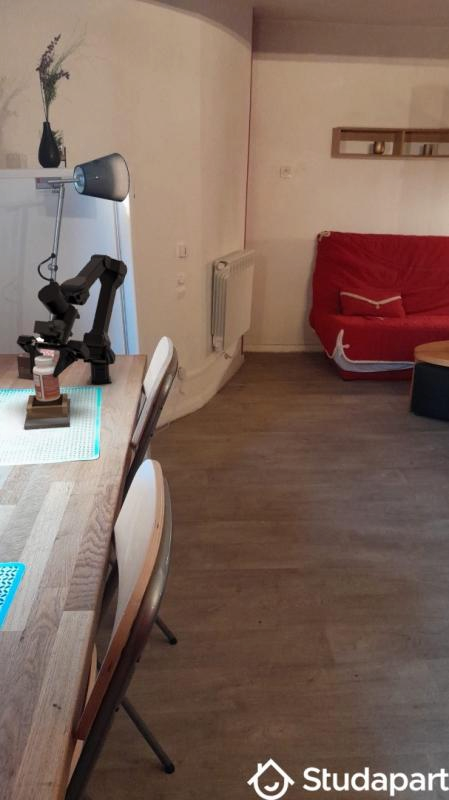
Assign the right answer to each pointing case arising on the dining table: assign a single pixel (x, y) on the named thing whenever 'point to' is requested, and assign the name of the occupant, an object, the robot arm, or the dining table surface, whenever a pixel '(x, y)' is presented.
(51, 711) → the dining table surface
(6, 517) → the dining table surface
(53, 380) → the pill bottle
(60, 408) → the socket
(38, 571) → the dining table surface
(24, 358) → the box
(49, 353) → the beverage cup
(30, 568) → the dining table surface
